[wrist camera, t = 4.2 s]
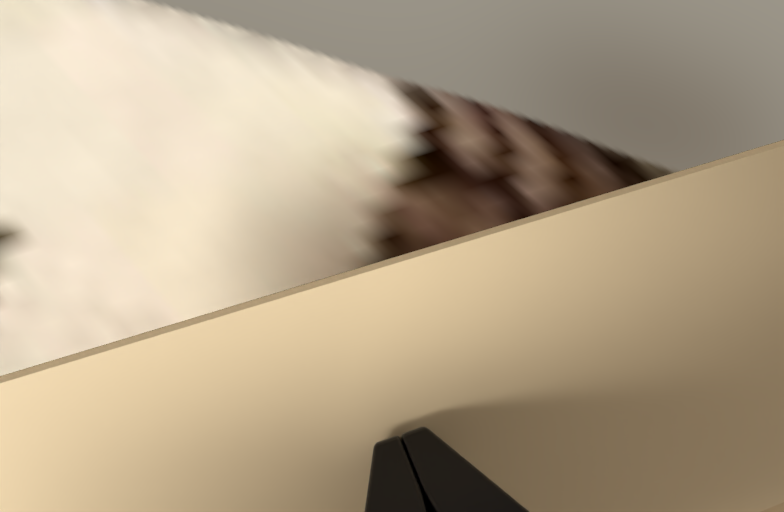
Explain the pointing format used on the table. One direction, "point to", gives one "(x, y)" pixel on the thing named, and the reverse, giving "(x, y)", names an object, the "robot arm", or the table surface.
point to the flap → (453, 370)
